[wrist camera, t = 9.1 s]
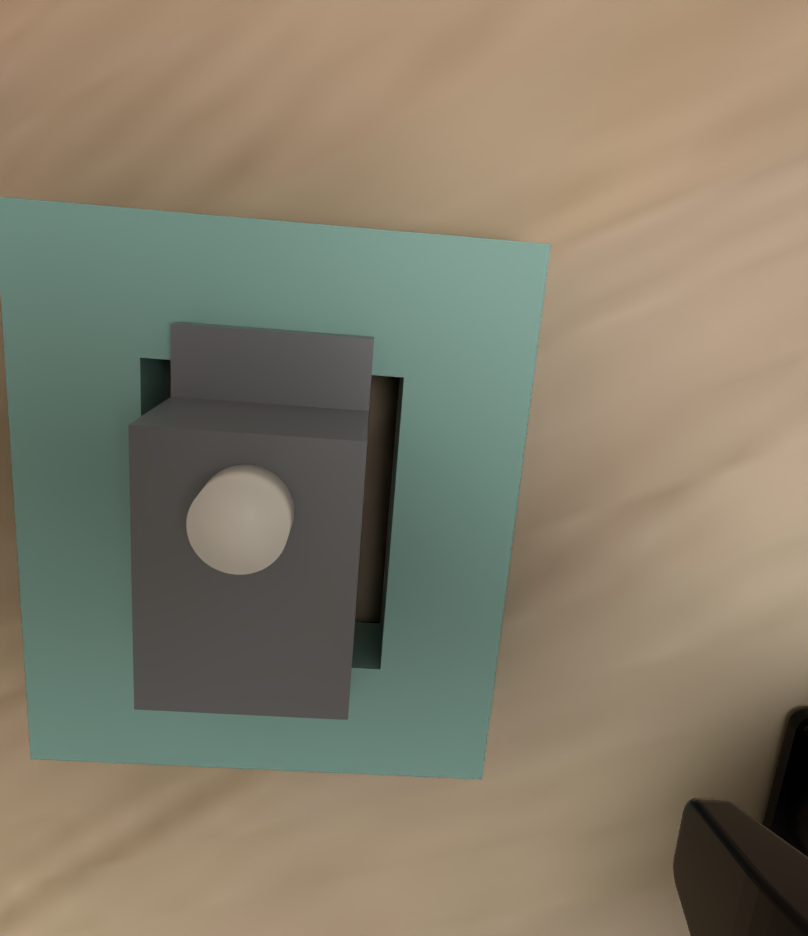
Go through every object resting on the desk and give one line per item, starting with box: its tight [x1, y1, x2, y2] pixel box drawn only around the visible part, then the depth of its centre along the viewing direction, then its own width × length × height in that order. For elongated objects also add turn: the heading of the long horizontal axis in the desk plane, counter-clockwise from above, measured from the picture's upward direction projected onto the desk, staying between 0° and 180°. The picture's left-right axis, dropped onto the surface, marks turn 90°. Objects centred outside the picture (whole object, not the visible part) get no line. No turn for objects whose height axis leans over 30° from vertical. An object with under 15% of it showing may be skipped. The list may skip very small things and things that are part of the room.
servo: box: [128, 322, 374, 720], centre depth 17 cm, size 9×4×7 cm, turn 175°
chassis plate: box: [0, 197, 551, 779], centre depth 19 cm, size 14×12×2 cm
